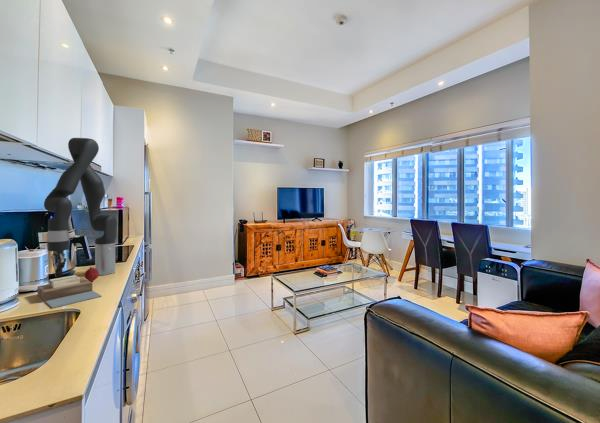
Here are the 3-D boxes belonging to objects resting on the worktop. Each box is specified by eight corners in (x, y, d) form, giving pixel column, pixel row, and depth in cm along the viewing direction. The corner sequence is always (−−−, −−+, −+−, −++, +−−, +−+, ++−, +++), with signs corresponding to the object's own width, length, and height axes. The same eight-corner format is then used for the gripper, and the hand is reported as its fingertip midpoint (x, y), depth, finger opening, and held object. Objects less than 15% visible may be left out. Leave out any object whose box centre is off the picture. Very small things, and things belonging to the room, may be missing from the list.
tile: (49, 285, 117) (49, 279, 117) (75, 280, 124) (75, 275, 124) (53, 288, 113) (53, 282, 113) (79, 283, 121) (79, 277, 121)
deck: (37, 295, 115) (37, 286, 115) (83, 286, 128) (83, 277, 128) (45, 302, 108) (44, 292, 108) (92, 291, 121) (92, 282, 121)
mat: (45, 302, 108) (45, 301, 108) (92, 291, 121) (92, 290, 121) (52, 308, 102) (52, 307, 102) (101, 296, 116) (101, 295, 115)
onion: (101, 280, 138) (101, 265, 137) (92, 283, 132) (92, 267, 132) (91, 279, 138) (91, 264, 138) (81, 283, 133) (81, 267, 132)
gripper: (73, 240, 122) (73, 277, 123) (64, 237, 130) (64, 272, 130) (51, 242, 116) (52, 281, 117) (43, 239, 124) (43, 275, 124)
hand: (58, 276), depth 124 cm, fingers closed
